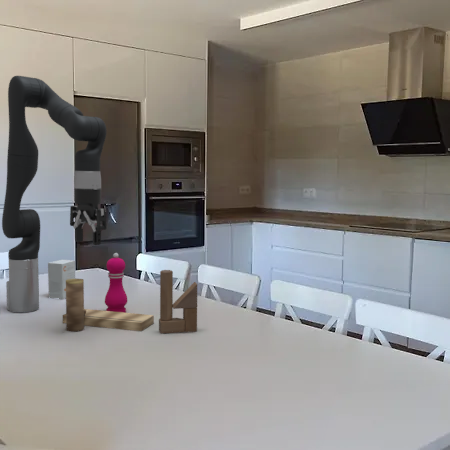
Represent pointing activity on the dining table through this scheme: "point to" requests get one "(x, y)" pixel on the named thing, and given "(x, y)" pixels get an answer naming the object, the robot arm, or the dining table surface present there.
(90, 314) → the board
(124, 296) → the pepper mill
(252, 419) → the dining table surface
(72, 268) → the small box
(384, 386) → the dining table surface
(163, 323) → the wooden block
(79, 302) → the wooden cylinder yellow top
